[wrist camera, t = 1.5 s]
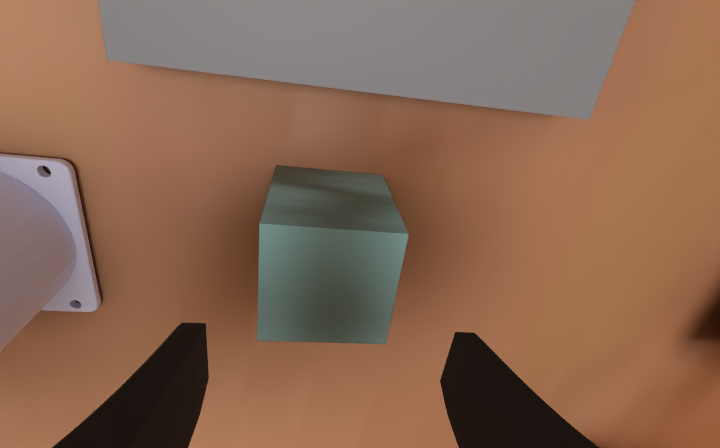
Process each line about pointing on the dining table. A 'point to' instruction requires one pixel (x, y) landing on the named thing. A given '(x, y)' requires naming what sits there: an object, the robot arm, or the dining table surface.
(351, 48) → the base board
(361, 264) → the teal block
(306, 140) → the dining table surface
